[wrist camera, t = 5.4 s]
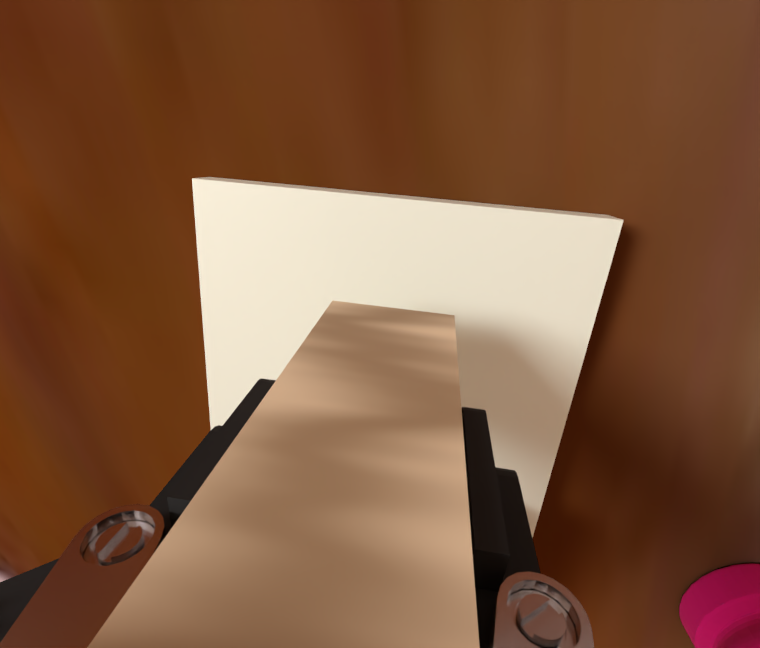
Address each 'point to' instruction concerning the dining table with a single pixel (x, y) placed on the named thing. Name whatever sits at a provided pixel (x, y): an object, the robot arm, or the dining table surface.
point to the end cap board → (408, 295)
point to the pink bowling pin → (724, 608)
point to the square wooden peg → (327, 506)
